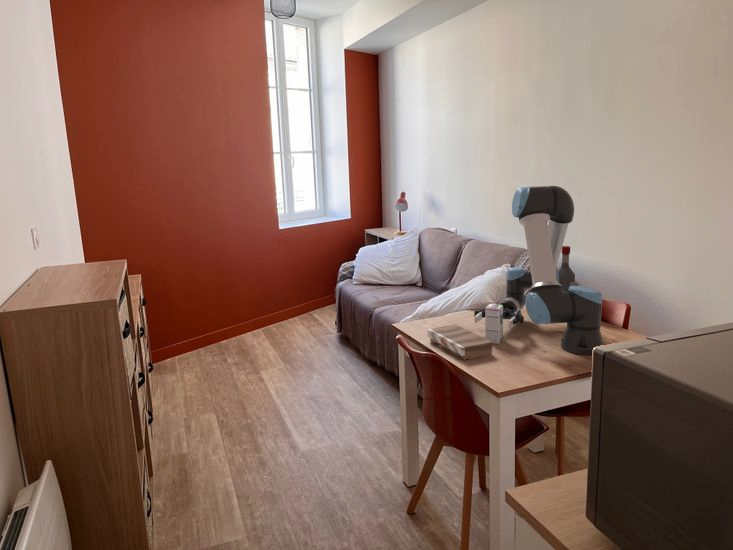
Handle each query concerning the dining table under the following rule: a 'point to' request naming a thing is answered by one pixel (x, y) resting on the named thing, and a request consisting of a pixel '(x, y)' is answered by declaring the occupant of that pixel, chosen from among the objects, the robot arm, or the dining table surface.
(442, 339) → the striped flat box
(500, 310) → the syrup box
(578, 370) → the dining table surface
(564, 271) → the liquor
